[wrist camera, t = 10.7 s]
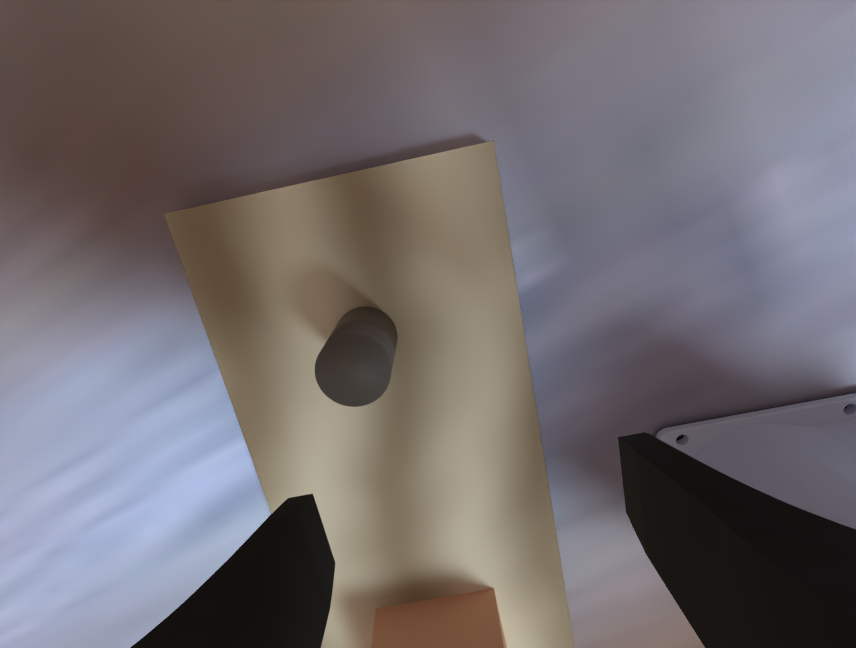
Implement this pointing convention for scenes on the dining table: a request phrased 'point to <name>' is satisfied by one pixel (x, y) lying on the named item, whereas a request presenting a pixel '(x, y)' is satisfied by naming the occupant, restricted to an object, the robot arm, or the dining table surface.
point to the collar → (441, 623)
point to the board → (439, 402)
